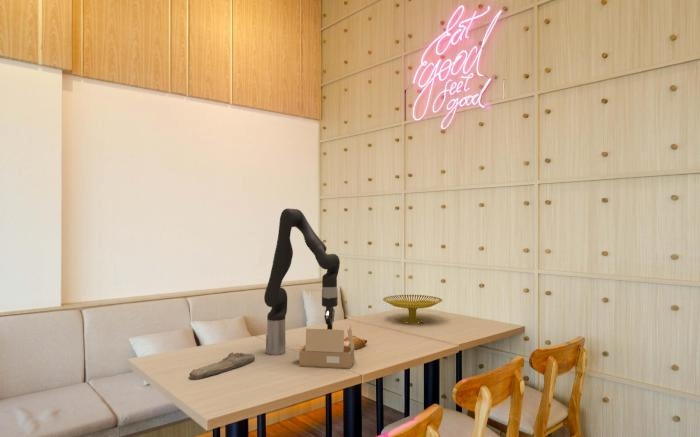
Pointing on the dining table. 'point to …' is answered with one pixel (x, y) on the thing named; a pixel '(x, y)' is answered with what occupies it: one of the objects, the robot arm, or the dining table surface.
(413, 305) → the yellow pedestal fruit bowl
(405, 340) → the dining table surface
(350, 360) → the carton
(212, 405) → the dining table surface
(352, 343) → the flap far
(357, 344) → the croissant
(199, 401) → the dining table surface
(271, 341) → the robot arm
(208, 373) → the long grey stone
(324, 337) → the flap near
